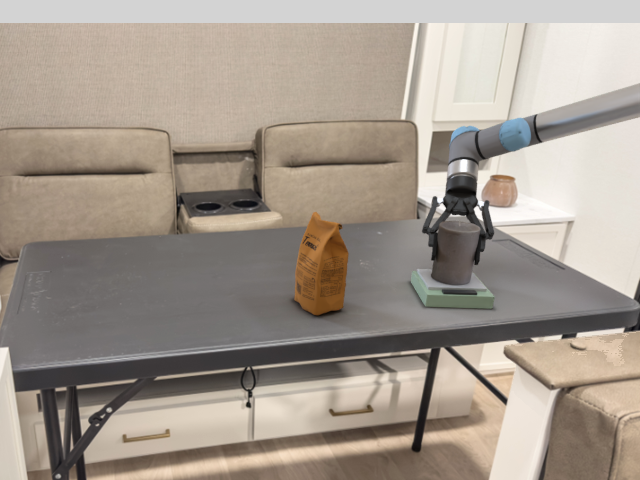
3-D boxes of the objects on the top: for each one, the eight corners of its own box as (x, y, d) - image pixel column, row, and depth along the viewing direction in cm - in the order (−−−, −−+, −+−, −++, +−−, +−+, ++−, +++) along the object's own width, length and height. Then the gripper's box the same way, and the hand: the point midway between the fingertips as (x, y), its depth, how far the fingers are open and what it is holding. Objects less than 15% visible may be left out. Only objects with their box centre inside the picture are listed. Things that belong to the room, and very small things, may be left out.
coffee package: (323, 292, 147) (330, 208, 138) (348, 312, 137) (357, 222, 128) (288, 298, 144) (292, 211, 135) (311, 318, 133) (317, 226, 125)
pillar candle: (422, 276, 148) (431, 219, 142) (446, 268, 153) (455, 213, 147) (455, 288, 141) (466, 229, 135) (479, 280, 146) (490, 222, 140)
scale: (492, 308, 140) (495, 293, 138) (425, 306, 140) (427, 291, 139) (471, 283, 154) (474, 269, 153) (410, 281, 155) (412, 267, 153)
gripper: (504, 193, 150) (499, 271, 142) (415, 187, 155) (407, 262, 148) (511, 177, 143) (507, 258, 136) (418, 170, 148) (409, 248, 141)
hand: (454, 260), depth 142 cm, fingers closed on pillar candle, 9 cm apart
